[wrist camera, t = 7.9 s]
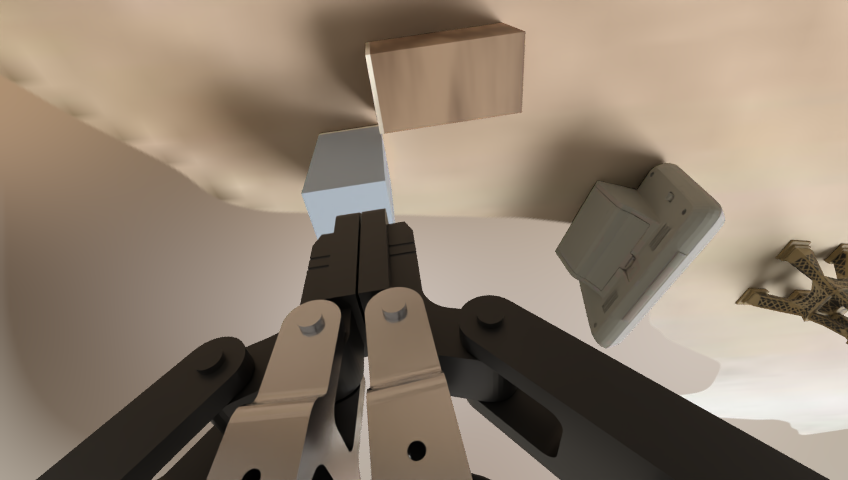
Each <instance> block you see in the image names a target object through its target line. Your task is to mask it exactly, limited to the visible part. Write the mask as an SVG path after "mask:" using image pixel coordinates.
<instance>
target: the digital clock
mask: <svg viewBox="0 0 848 480" xmlns="http://www.w3.org/2000/svg"><path fill="white" fill-rule="evenodd" d="M724 222H725V216H724V213H723V210H722V208H721V206H720V204H719V203H718V202H717V201H716V200H715V199H714V198H713V197H712V196H711V195H709V194H708V193H707V192H706V191H705V190H704V189H703V188H702V187H701V186H699V185H698V184H697V183H696V182H695V181H694V180H693V179H692V178H690V177H689V176H688V175H687V174H686V173H685V172H684V171H683V170H682V169H680V168H679V167H678V166H677V165H675V164H671V163H664V164H660V165H658V166H655V167H654V168H653V169H652V170H651V171H650V172H649V173H648V175H647V176H646V178H645V179H644V181H643V182H642V184H641V185H640V186H639V188H638V189H637V190H636V189H631V188H627V187H623V186H619V185H615V184H610V183H606V182H602V181H597V182H596V184H595V186H594V187H593V189H592V191H591V192H590V194H589V196H588V197H587V199H586V201H585V202H584V204H583V206H582V207H581V209H580V211H579V212H578V214H577V216H576V217H575V219H574V221H573V222H572V224H571V226H570V227H569V229H568V231H567V232H566V234H565V236H564V237H563V239H562V241H561V242H560V244H559V246H558V247H557V249H556V251H555V252H556V253H557V255H558V256H559V258H560V259H561V261H562V263H563V264H564V266H565V267H566V269H567V270H568V271H569V273H570V274H571V275H572V276H573V277H574V278H575V279H577V280H579V282H580V287H581V292H582V296H583V300H584V304H585V309H586V313H587V317H588V321H589V326H590V329H591V333H592V335H593V337H594V339H595V340H596V342H597V343H598V344H599V345H600V346H602V347H604V348H609V347H612V346H615V345H618V344H620V343H621V342H622V341H623V340H624V339H625V338H626V337H627V335H628V334H629V333H630V332H631V331H632V330H633V329H634V328H635V327H636V325H637V324H638V323H639V322H640V321H641V320H642V318H643V317H644V316H645V315H646V314H647V313H648V312H649V311H650V309H651V308H652V307H653V306H654V305H655V304H656V303H657V301H658V300H659V299H660V298H661V297H662V296H663V295H664V293H665V292H666V291H667V290H668V289H669V288H670V287H671V285H672V284H673V283H674V282H675V281H676V280H677V279H678V277H679V276H680V275H681V274H682V273H683V272H684V271H685V269H686V268H687V267H688V266H689V265H690V264H691V262H692V261H693V260H694V259H695V258H696V257H697V256H698V254H699V253H700V252H701V251H702V250H703V249H704V248H705V246H706V245H707V244H708V243H709V242H710V241H711V239H712V238H713V237H714V236H715V235H716V233H717V232H718V231H719V230H720V228H721V227H722V226H723V224H724Z"/></svg>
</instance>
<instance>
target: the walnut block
mask: <svg viewBox="0 0 848 480" xmlns="http://www.w3.org/2000/svg"><path fill="white" fill-rule="evenodd" d="M524 51H525V31H522V30H520V29H517V28H515V27H512V26H510V25H507V24H504V23H495V24H489V25H482V26H475V27H468V28H461V29H454V30H447V31H440V32H434V33H427V34H420V35H413V36H406V37H399V38H392V39H385V40H379V41H372V42H366V45H365V57H366V62H367V69H368V74H369V79H370V85H371V90H372V95H373V101H374V106H375V111H376V117H377V121H378V126H379V131H380V134H385V133H391V132H398V131H404V130H411V129H417V128H424V127H430V126H437V125H443V124H450V123H456V122H463V121H469V120H476V119H482V118H489V117H495V116H502V115H508V114H515V113H521V112H522V94H523V72H524Z"/></svg>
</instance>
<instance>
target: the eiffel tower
mask: <svg viewBox="0 0 848 480" xmlns="http://www.w3.org/2000/svg"><path fill="white" fill-rule="evenodd" d="M810 243H811V242H810V241H798V240H791V241H790V242H789V243H788V244H787V246H786V247H785V248H784V249H783V250H782V251H781V252H780V253H779V255H778V256H777V257H776V259H780V260H782V261H788V262H789V263H790V264H792V265H793V266H794V267H796V268H797V269H798V270H799V271H801V272H802V273H803V274H805V275H806V276H807V277H808V278H810V279H811V280H812V289H811V291H808V290H795V291H794V292H793V293H792V294H791V295H790V296H789V297H788V298H782V297H778V296H774V295H769V294H768V293H769V291H768V290H766V289H757V288H748V290H747V291H746V292H745V293H744V294H743V295H742V296H741V297H740V299H739V300H738V301H737V302H736V304H743V305H753V306H756V307H760V308H765V309H770V310H774V311H779V312H784V313H789V314H794V315H799V316H802V318H803V320H804V322H805V321H813V322H815V323H818V324H821V325H823V326H825V327H827V328H829V329H831V330H833V331H834V332H836V333H838V334H840V335H842V336H844V337H845V338H846V339H847V340H848V317H846V316H844V314H845V313H846V312H847V311H848V244H841V245H840V246H839V247H838V248H837V249H836V250H835V251H834V252H833V253H832V254H831V255H830V256H829V257H828V258H827V259H826V260H825V262H827V263H829V264H834V267H835V271H836V275H837V279H834V278H830V277H827V276H824V274H823V272H822V270H821V268H820V266H819V263H818V261H817V259H816V257H815V255H814V253H813V251H812V250H811V249H810V248H811V247H810V246H809V244H810ZM846 344H848V341H847V342H846Z"/></svg>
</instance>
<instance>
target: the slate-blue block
mask: <svg viewBox="0 0 848 480" xmlns="http://www.w3.org/2000/svg"><path fill="white" fill-rule="evenodd" d="M301 194H302V197H303V199H304V202H305V205H306V208H307V211H308V214H309V217H310V219H311V222H312V225H313V228H314V231H315V234H316V236H317V239H319V237H320V236H321V235H322V234H329V233H334V226H335V219H336V216H339V215H346V214H352V213H359V212H360V213H362V212H365V211H371V210H377V209H384V208H385V209H386V212H387V217H388V222H389V224H392V223H395V217H394V207H393V198H392V189H391V180H390V174H389V169H388V163H387V158H386V152H385V147H384V141H383V136H382V134H380V131H379V126H378V125H374V126H367V127H361V128H354V129H347V130H341V131H334V132H327V133H321V134H319V136H318V139H317V143H316V146H315V150H314V153H313V156H312V160H311V163H310V166H309V170H308V173H307V177H306V180H305V183H304V187H303V190H302V193H301Z"/></svg>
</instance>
